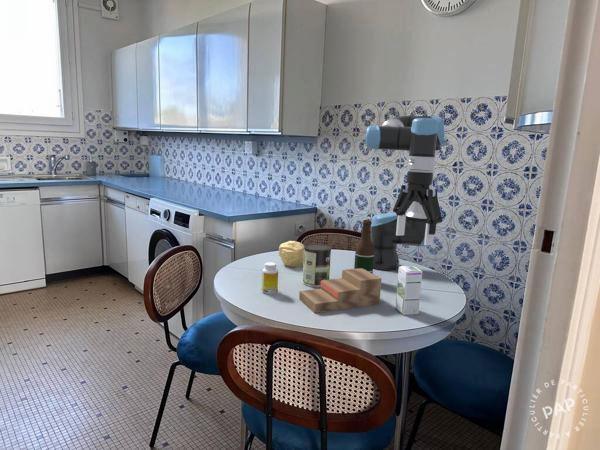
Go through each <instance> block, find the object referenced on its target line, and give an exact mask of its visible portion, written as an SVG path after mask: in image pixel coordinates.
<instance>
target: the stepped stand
mask: <svg viewBox="0 0 600 450" xmlns="http://www.w3.org/2000/svg"><path fill="white" fill-rule="evenodd" d="M320 286H321V287H320V288H315V289H306V290H299V299H298V300H299V301H300V302H301V303H303V304H304V305H305V306H306V307H307V308H308V309H310V310H311V311H312V312H313V313H314V314H317V313H325V312H331V311H338V310H347V309H355V308H362V307H369V306H376V305H377V306H378V305H380V301H381V299H380V298H381V290H382V289H381V288H382V277H379V276H378V275H375V274H374V273H373V274H372V273H370V272H368V271H366V270H365V269H363V268H358V269H354V268H350V269H349V268H348V269H342V273H341V278H329V280H321V283H320Z"/></svg>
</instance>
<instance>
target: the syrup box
mask: <svg viewBox="0 0 600 450" xmlns="http://www.w3.org/2000/svg"><path fill="white" fill-rule="evenodd" d="M397 271H398V273H397V283H396V284H397V285H396V294H395V295H396V298H395V309H396V310H397V311H398V312H399V313H400V314H401V315H403V316H413V315H414V314H415V315H419V313H420V303H421V294H422V293H421V292H422V283H423V281H422V280H423V270H421V269H420V268H418V267H416V266H414V265H401V266H400V265H399V268H398V270H397Z"/></svg>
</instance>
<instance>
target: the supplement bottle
mask: <svg viewBox="0 0 600 450" xmlns="http://www.w3.org/2000/svg"><path fill="white" fill-rule="evenodd" d="M261 274H262V275H261V291H262V293H263V294H267V295H273V294H276V293H277V292H278V291H279V290H278V287H279V286H278V285H279V284H278V283H279V269H278V268H277V263H275V262H272V261H270V262H269V261H267V262H265V263H264V268H263V269H262V270H261Z"/></svg>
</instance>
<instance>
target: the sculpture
mask: <svg viewBox="0 0 600 450" xmlns="http://www.w3.org/2000/svg"><path fill="white" fill-rule="evenodd" d="M304 246H305V245H304V244H303V243H302V242H299V241H296V240H288V241H286V242H283V243H280V245H279V246H278V256H279V257H280V260H281V262H282V263H283V265H284V266H287V267H289V268H299V267H302V266H303V263H304Z"/></svg>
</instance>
